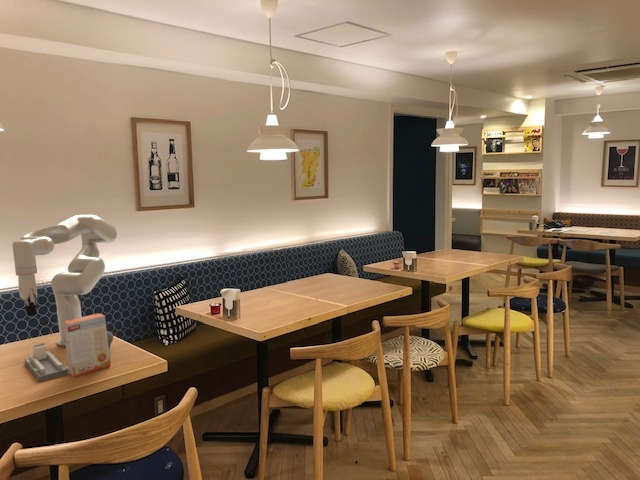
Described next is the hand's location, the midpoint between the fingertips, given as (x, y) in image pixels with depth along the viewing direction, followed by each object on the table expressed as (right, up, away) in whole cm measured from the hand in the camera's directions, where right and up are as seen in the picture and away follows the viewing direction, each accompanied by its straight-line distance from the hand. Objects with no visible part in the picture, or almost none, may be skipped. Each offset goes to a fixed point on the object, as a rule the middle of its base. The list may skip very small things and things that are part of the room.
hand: (31, 314), depth 214 cm
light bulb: (+29, -18, +5) cm, 34 cm away
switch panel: (+10, -20, -8) cm, 24 cm away
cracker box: (+29, -20, -11) cm, 37 cm away
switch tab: (+5, -17, -3) cm, 18 cm away
